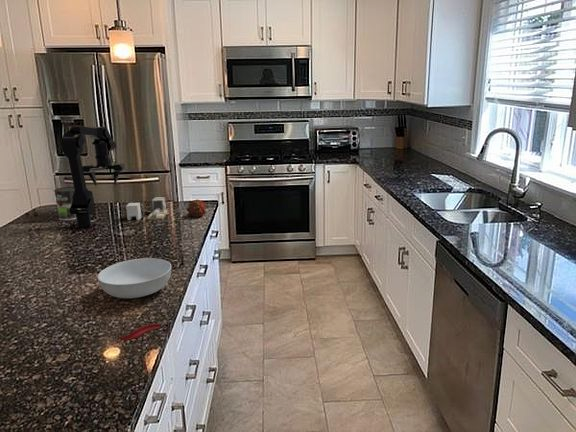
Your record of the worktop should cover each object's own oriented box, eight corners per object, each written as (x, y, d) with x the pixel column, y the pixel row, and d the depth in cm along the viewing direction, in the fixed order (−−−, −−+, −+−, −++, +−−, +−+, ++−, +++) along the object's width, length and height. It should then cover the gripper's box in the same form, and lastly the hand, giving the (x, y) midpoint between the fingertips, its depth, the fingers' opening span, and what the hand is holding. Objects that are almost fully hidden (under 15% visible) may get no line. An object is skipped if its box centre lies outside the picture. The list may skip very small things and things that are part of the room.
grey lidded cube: (138, 220, 217) (137, 205, 215) (127, 220, 217) (126, 206, 215) (141, 216, 223) (140, 202, 221) (131, 217, 223) (129, 202, 221)
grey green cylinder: (71, 221, 219) (67, 191, 215) (53, 219, 222) (49, 190, 218) (86, 215, 228) (82, 186, 225) (69, 214, 231) (65, 186, 227)
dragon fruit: (198, 222, 216) (194, 220, 227) (212, 210, 217) (207, 208, 228) (186, 209, 213) (182, 207, 224) (200, 196, 215) (195, 195, 226)
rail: (162, 219, 217) (160, 204, 215) (147, 220, 216) (145, 205, 214) (168, 210, 232) (166, 197, 230) (153, 211, 232) (152, 197, 230)
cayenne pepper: (116, 344, 112) (115, 337, 111) (115, 335, 116) (114, 328, 116) (167, 333, 116) (167, 326, 116) (164, 325, 121) (164, 318, 120)
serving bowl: (147, 272, 155) (144, 253, 153) (187, 288, 142) (185, 266, 140) (86, 294, 139) (83, 273, 137) (126, 314, 126) (123, 290, 124)
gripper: (125, 150, 234) (129, 181, 238) (86, 152, 232) (91, 183, 236) (120, 153, 223) (123, 185, 227) (79, 154, 221) (84, 187, 225)
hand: (105, 185), depth 229 cm, fingers open, 9 cm apart
